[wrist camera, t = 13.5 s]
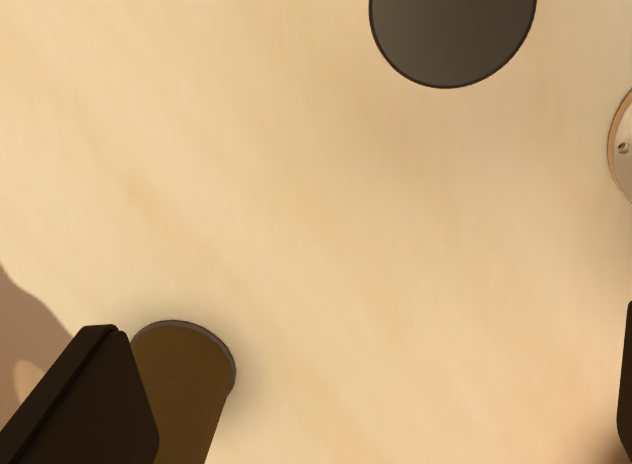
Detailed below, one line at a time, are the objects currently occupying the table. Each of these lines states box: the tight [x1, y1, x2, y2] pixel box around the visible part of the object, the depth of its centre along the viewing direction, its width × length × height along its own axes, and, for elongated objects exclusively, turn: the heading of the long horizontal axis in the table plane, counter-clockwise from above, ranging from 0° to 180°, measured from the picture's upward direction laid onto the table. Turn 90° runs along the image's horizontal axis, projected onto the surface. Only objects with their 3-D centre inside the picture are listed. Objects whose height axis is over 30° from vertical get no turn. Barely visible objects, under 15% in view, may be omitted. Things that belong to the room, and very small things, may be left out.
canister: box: [130, 321, 236, 464], centre depth 47 cm, size 11×10×20 cm
